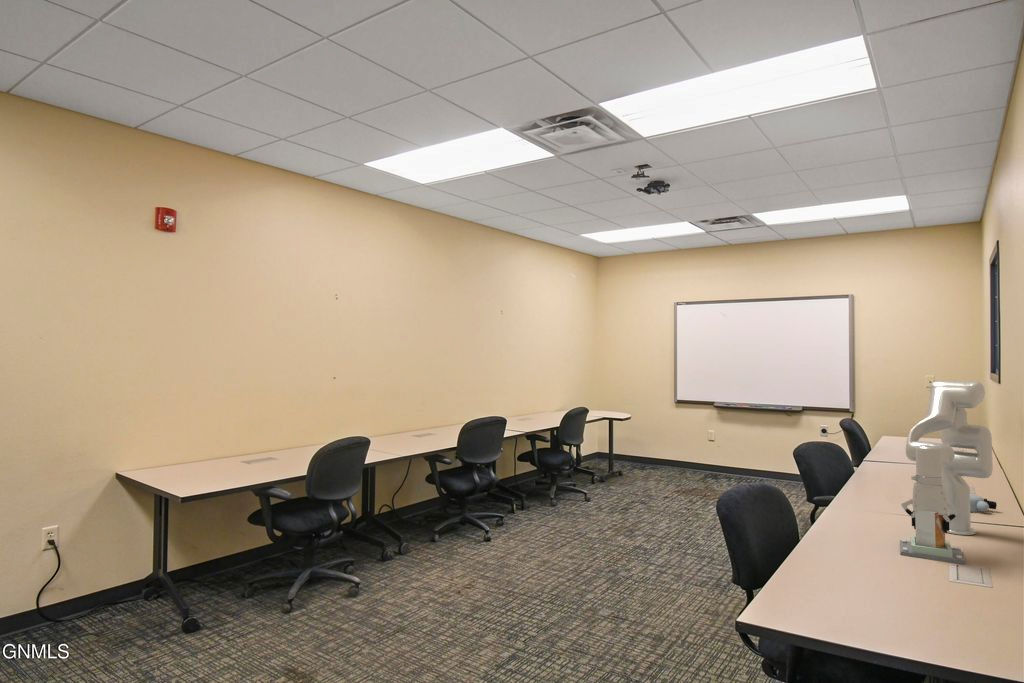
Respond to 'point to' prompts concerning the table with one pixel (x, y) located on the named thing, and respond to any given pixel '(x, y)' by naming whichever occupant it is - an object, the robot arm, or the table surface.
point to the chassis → (931, 551)
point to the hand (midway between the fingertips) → (930, 530)
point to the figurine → (980, 503)
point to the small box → (929, 529)
